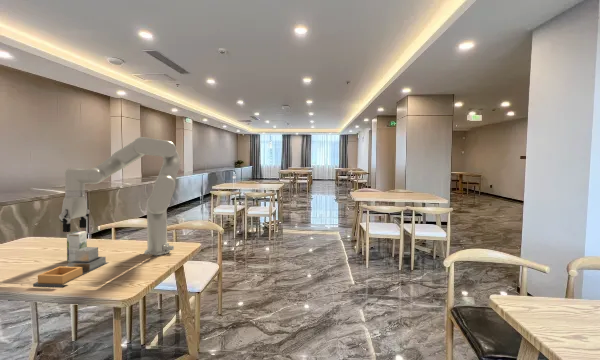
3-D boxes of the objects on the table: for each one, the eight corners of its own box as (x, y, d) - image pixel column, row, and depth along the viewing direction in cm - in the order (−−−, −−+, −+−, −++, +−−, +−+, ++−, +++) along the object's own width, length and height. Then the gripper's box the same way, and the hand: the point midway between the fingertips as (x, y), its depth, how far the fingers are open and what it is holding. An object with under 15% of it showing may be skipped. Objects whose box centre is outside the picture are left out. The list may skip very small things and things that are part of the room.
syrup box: (74, 260, 147) (74, 230, 146) (87, 259, 148) (86, 230, 147) (66, 263, 142) (66, 233, 141) (80, 263, 142) (79, 233, 141)
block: (98, 264, 138) (98, 247, 137) (88, 268, 132) (88, 251, 131) (85, 264, 138) (85, 247, 138) (75, 268, 132) (75, 250, 132)
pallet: (84, 264, 141) (84, 255, 141) (109, 265, 141) (109, 256, 141) (33, 286, 115) (32, 276, 115) (63, 287, 115) (62, 277, 115)
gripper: (81, 192, 152) (81, 225, 152) (51, 195, 134) (51, 233, 135) (95, 193, 151) (95, 226, 152) (67, 196, 134) (67, 234, 135)
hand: (75, 229), depth 144 cm, fingers open, 9 cm apart
